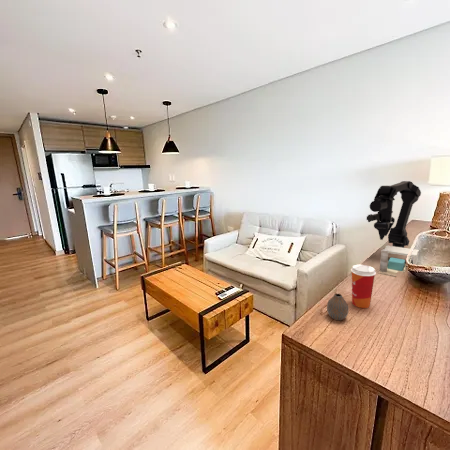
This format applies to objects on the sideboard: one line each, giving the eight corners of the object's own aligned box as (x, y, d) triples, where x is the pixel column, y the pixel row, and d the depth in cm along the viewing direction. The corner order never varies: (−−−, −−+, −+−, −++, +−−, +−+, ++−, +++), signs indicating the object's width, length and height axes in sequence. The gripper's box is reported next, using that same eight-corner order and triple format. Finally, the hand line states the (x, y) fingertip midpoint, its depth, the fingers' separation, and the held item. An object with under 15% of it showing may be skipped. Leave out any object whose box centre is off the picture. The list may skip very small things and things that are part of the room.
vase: (322, 315, 88) (323, 293, 87) (336, 309, 91) (337, 288, 89) (338, 325, 82) (339, 302, 80) (352, 319, 85) (353, 296, 83)
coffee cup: (353, 296, 100) (355, 262, 96) (376, 303, 94) (379, 267, 91) (345, 305, 94) (347, 268, 91) (369, 312, 88) (372, 274, 85)
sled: (384, 264, 128) (386, 243, 125) (407, 268, 121) (409, 246, 119) (378, 273, 118) (380, 250, 116) (402, 278, 112) (404, 254, 109)
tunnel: (385, 259, 136) (386, 245, 135) (417, 264, 127) (418, 249, 125) (381, 264, 129) (382, 250, 128) (414, 270, 120) (416, 255, 118)
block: (390, 264, 125) (390, 257, 124) (404, 267, 121) (405, 259, 120) (387, 268, 121) (388, 260, 120) (402, 271, 117) (403, 263, 116)
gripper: (372, 206, 141) (371, 232, 144) (363, 211, 128) (362, 239, 131) (396, 207, 134) (393, 234, 137) (388, 212, 120) (386, 242, 124)
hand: (383, 237), depth 132 cm, fingers open, 9 cm apart
